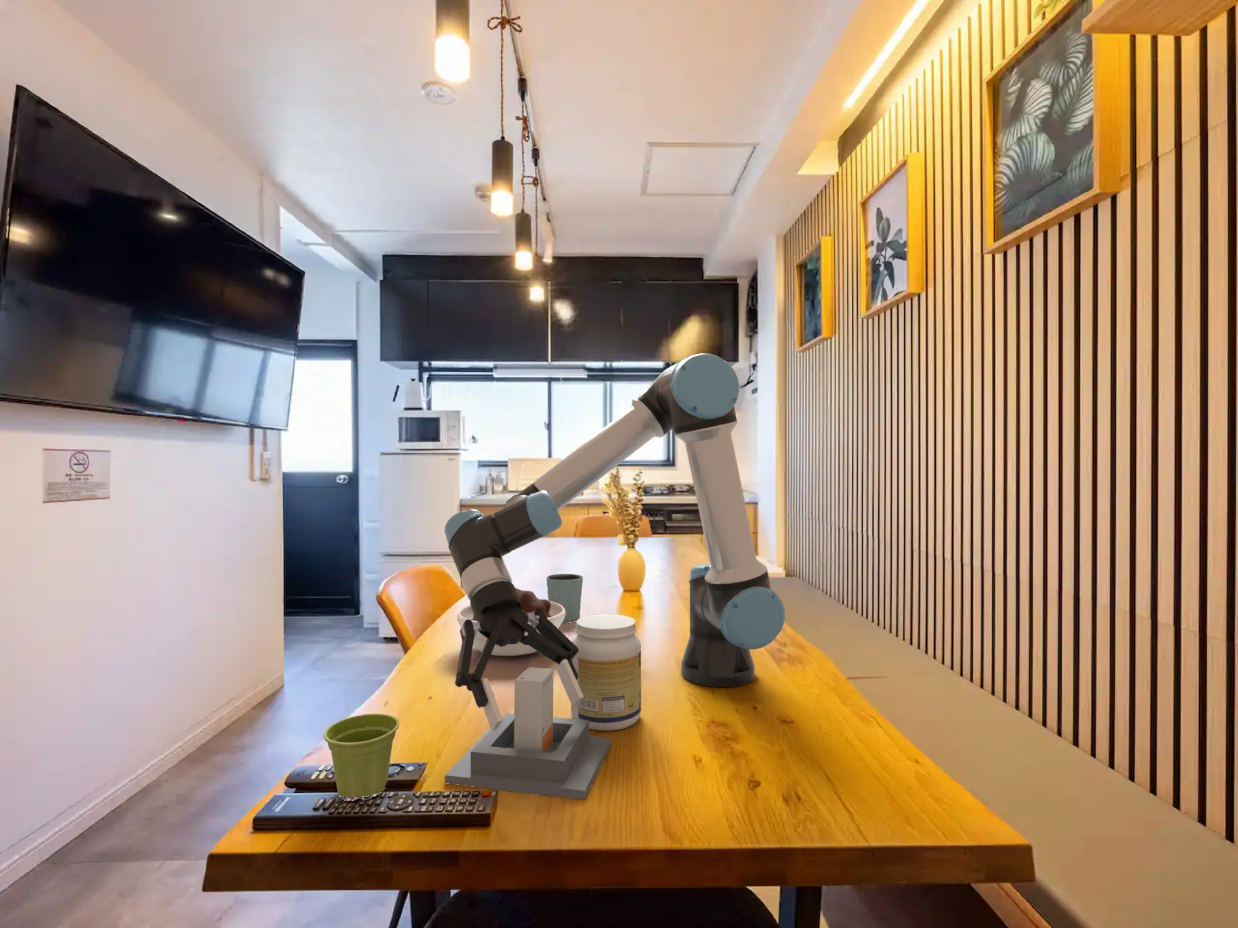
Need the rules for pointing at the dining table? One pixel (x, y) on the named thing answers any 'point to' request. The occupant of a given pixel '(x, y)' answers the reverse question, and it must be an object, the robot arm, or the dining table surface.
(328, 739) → the plant pot
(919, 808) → the dining table surface
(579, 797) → the slate stand
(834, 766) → the dining table surface
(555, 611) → the bowl of chocolate pudding
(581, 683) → the supplement tub
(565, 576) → the teal cup
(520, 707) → the skincare box
